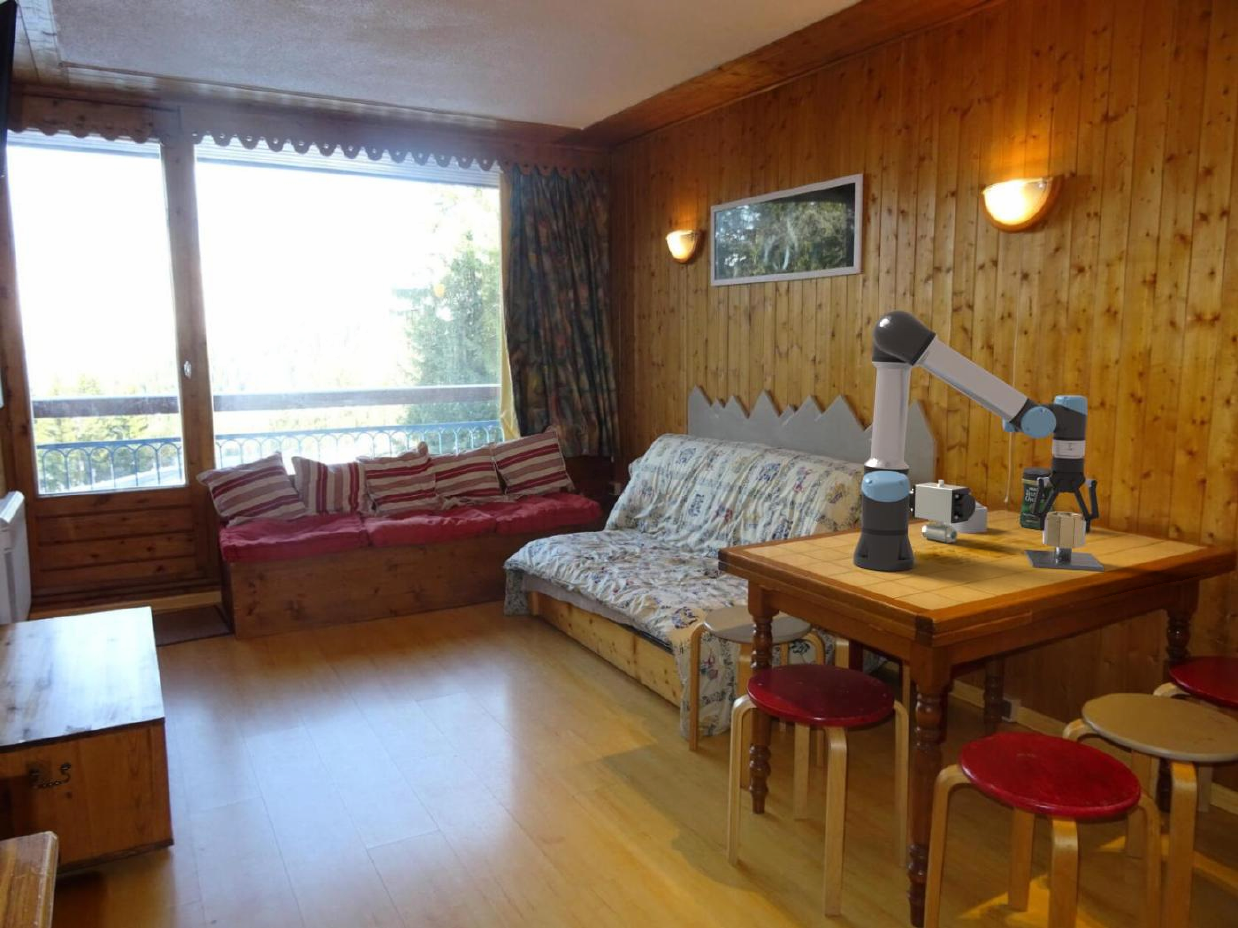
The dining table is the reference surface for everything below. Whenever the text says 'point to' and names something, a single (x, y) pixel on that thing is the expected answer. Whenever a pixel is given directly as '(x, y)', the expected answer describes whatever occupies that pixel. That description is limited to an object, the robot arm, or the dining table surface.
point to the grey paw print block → (973, 521)
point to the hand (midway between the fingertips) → (1063, 543)
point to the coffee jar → (1033, 495)
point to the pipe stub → (1063, 559)
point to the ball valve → (941, 508)
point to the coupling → (1065, 530)
